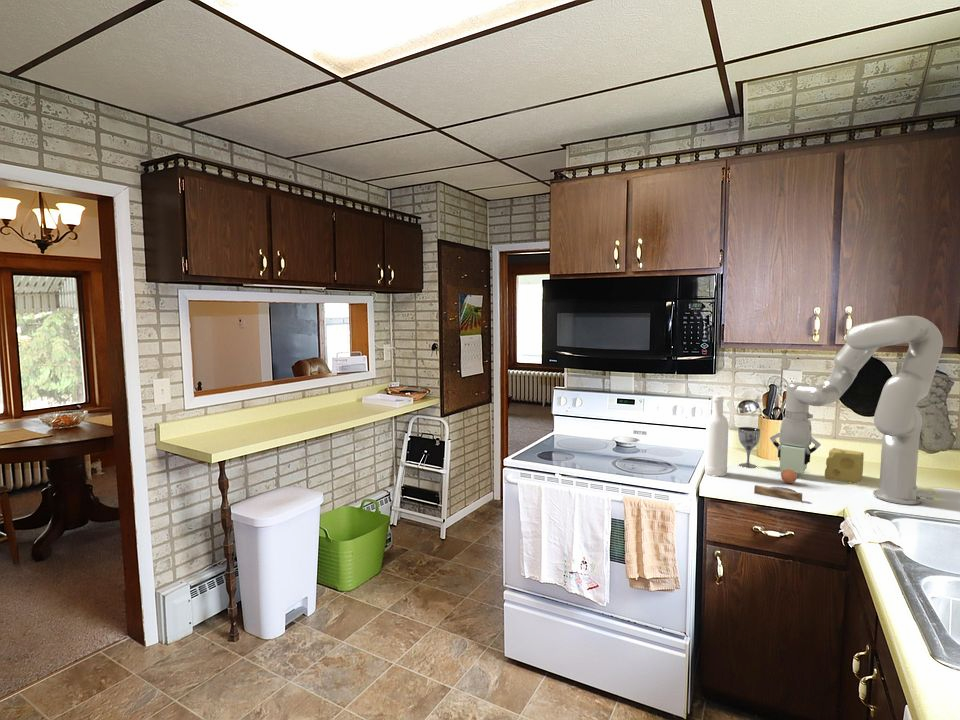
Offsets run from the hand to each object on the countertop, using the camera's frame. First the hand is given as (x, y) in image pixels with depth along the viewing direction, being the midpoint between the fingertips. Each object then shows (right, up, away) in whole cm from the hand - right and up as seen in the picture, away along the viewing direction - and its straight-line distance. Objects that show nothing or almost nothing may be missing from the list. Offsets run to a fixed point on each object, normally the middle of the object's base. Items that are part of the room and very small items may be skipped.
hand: (793, 461), depth 207 cm
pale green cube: (0, -3, 0) cm, 3 cm away
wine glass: (-10, -4, +14) cm, 18 cm away
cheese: (+17, -6, -3) cm, 18 cm away
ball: (-7, -4, -9) cm, 11 cm away
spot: (-14, -7, -18) cm, 24 cm away
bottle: (-28, -6, +3) cm, 29 cm away
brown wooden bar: (-18, -8, -23) cm, 31 cm away
